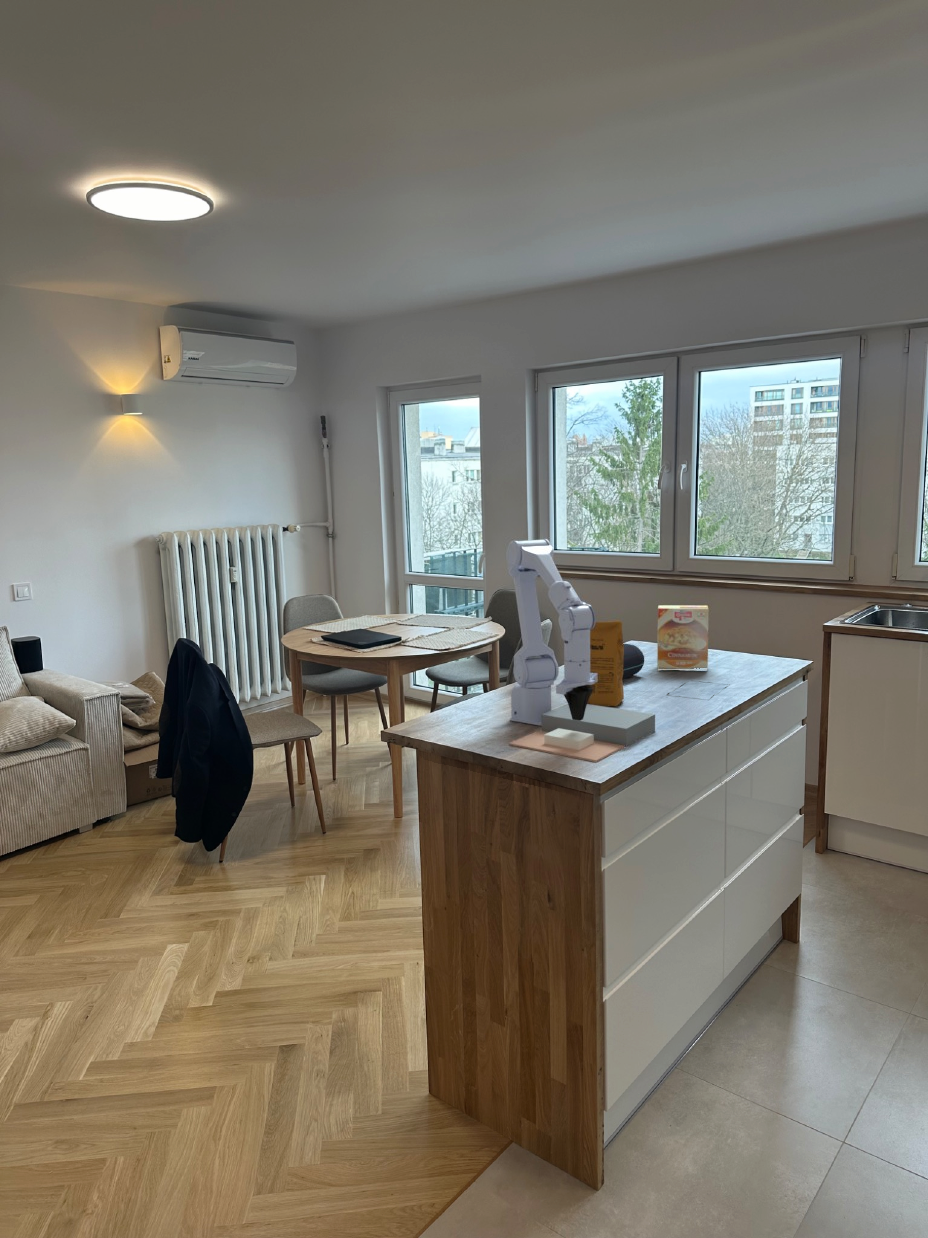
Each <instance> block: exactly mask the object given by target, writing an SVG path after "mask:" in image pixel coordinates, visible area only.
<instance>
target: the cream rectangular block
mask: <svg viewBox="0 0 928 1238" xmlns="http://www.w3.org/2000/svg"><path fill="white" fill-rule="evenodd" d="M544 743H545V744H550V745H555V746H560V747H566V748H571V749H576V750H581V749H583V748H585V747H587V746H589V745H591V744H593V743H594V734H589V733H583V732H577V731H571V730H566V729H560V728H558V729H556V730H554V731H551V732H549V733H547V734H545V735H544Z"/></svg>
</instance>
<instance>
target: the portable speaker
mask: <svg viewBox="0 0 928 1238" xmlns="http://www.w3.org/2000/svg"><path fill="white" fill-rule="evenodd" d="M623 646H624V656H623V677H622V680H623V679H627V678H630V677H633V676H635V675H636V674H638V673H639V672H640V671H641V670H642V669H643V666H644V665H645V655H644V653H643V651H642V650H641V648H639V647H638V646H637V645H634V644H630V643H623Z"/></svg>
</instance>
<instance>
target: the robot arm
mask: <svg viewBox="0 0 928 1238" xmlns="http://www.w3.org/2000/svg"><path fill="white" fill-rule="evenodd" d="M505 555H506V556H505V557H506V558H505V559H506V564H507V571H508V575H509V576H510V577H511V578H512V579H513V584H514V591H515V600H516V606H517V613H518V619H519V627H520V632H521V633H520V634H521V640H522V641H521V642H522V646H521V647H520V649H519V650H517V651H516V653H515V654H514V656H513V671H512V672H513V676H514V680H515V682H516V683H515V684H514V686H513V687H512V689H511V694H510V695H511V696H510V698H511V699H510V703H511V704H510V708H511V717H510V718H509V720H510V721H512V722H516V723H522V724H528V725H534V726H540V727H542V726H541V714H544V713H546V712H549V711H551V710H552V686H553V685H554V683H555V681H556V680H557V679H558V676H559V672H560V671H559V670H560V669H559V668H560V667H559V665H558V662H557V659H556V656H555V652H554V650H553V649H552V648H550V647H549V646H547V644H545V643H544V635H543V629H542V623H541V615H540V608H539V607H540V606H539V600H538V594H537V586H536V579H537V577H538V576H539V577H540V578H541V579H542V581H543V582H544V583H545V585H546V587H547V588H548V591H547V596H548V598H549V600H550V602H551V604H552V605H553V607H554V608H555V610H556V612H557V614H558V615H559V616H558V625H559V628H560V632H561V633H560V634H561V639H562V640H563V663H564V664H563V665H564V666H563V667H564V668H563V669H564V671H563V673H564V675H563V676H564V678H563V679H562V680H561V681H560V682H559V683H558V684H555V693H556V694H557V695H563V697H564V698H565V701H566V702H567V704H568V705H569V708H570V712H571V716H572V719H573V720H579V721H580V720H583V718H584V714H585V709H586V705H587V702H588V700H589V697H590V695H591V694H592V692H593V688H592V687H587V685H592V684H594V683H595V682H598V674H596V673H590V630H592V629H593V628H594V626H595V621H596V613H595V611H594V609H593V606H592V605H591V604H589V603H586V601H581V599H580V597H579V595H578V594H577V592H576V591H575V589H574V587H573V586H572V584H571V583H570V582H569V581H566V580H563V578H562V576H561V573H560V572H559V569H558V568H557V566H556V564H555V562H554V548H553V546H552V543H551V542H550V541H549V539H548V538H542V539H532V540H531V539H530V540H511V541H510V542H509V544H508V546H507V549H506V552H505ZM533 657H534V658H533Z"/></svg>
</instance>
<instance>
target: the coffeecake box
mask: <svg viewBox="0 0 928 1238" xmlns="http://www.w3.org/2000/svg"><path fill="white" fill-rule="evenodd" d="M709 612H710V611H709V607H708V605H682V604H681V605H674V604H673V605H671V604H669V605H665V604H664V605H663V604H662V605H658V606H657V648H656V649H657V651H656V653H657V654H656V655H657V658H656V660H657V661H656V663H657V665H656V666H657V668H658V669H694V668H696V669H697V668H699V669H700V668H709V667H708V666H709V665H708V664H709V663H708V662H709V617H710V616H709V615H710V613H709ZM658 669H657V670H658Z"/></svg>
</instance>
